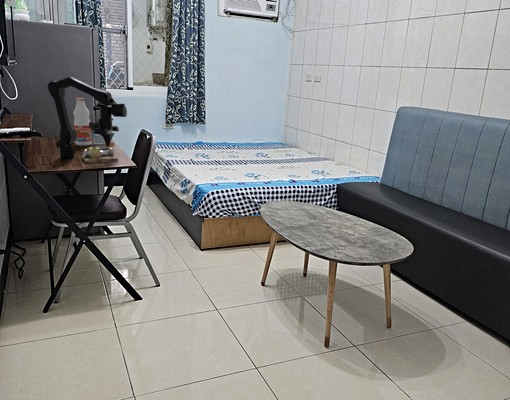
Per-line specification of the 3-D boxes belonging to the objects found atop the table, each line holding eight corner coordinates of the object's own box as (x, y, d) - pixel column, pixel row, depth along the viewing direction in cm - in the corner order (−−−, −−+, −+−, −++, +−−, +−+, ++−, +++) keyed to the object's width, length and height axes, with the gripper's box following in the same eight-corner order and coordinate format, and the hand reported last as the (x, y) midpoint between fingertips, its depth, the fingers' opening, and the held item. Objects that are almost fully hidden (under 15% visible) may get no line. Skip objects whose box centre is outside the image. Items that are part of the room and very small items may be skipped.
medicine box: (105, 147, 266) (104, 133, 263) (109, 148, 263) (108, 133, 260) (93, 148, 260) (92, 134, 257) (97, 150, 257) (96, 135, 254)
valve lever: (91, 146, 230) (90, 143, 229) (92, 146, 232) (91, 142, 231) (113, 147, 231) (113, 143, 231) (114, 146, 234) (114, 142, 233)
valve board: (86, 163, 223) (85, 150, 221) (81, 158, 234) (80, 145, 232) (118, 161, 231) (117, 148, 229) (112, 156, 242) (111, 143, 240)
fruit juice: (94, 143, 276) (91, 97, 268) (88, 146, 267) (84, 99, 259) (80, 142, 277) (76, 97, 268) (73, 145, 268) (68, 98, 259)
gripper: (98, 114, 236) (99, 144, 239) (82, 117, 218) (84, 148, 221) (118, 115, 235) (119, 144, 239) (104, 117, 217) (106, 149, 221)
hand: (107, 146), depth 230 cm, fingers closed
